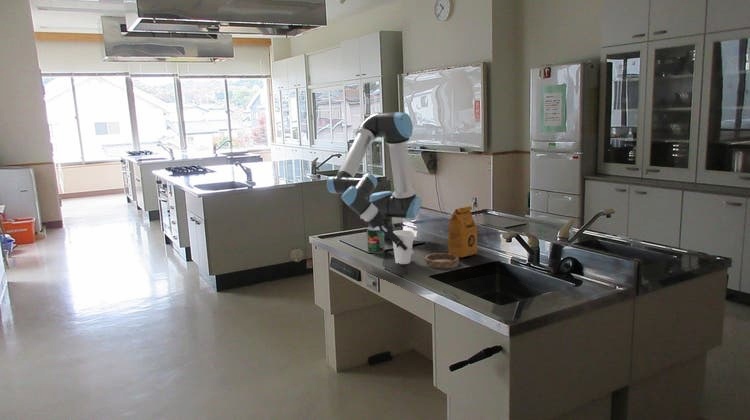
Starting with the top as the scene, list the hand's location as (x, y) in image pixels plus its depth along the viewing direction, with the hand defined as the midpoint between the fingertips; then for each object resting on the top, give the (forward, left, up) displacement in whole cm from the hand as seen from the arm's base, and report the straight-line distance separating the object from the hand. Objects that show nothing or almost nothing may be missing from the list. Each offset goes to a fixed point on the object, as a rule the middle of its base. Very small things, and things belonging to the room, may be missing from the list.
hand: (409, 250), depth 232 cm
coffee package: (-7, +25, -5) cm, 26 cm away
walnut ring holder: (+5, +13, -5) cm, 15 cm away
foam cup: (0, -3, -5) cm, 6 cm away
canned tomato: (-20, -13, -5) cm, 24 cm away
